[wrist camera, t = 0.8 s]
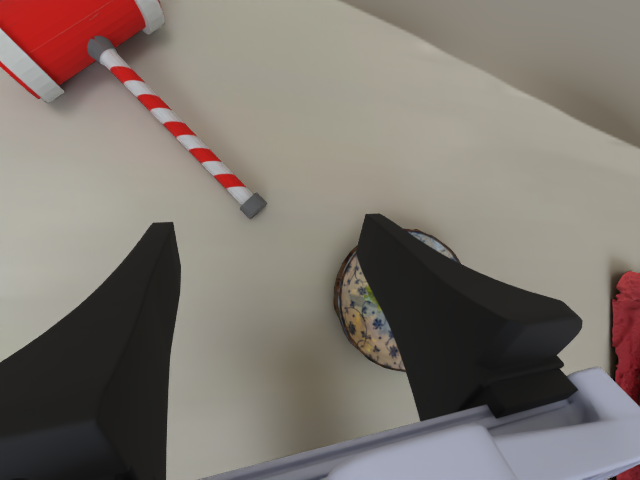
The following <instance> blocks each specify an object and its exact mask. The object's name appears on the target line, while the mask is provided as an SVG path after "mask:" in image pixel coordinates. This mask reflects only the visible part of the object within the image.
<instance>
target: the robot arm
mask: <svg viewBox="0 0 640 480" xmlns="http://www.w3.org/2000/svg"><path fill="white" fill-rule="evenodd" d="M356 255H357V259H358V262H359V265H360V267H361V270H362V273H363V275H364V277H365V279H366V281H367V283H368V285H369V287H370V289H371V291H372V293H373V295H374V297H375V299H376V300H377V302H378V304H379V306H380V308H381V310H382V312H383V314H384V316H385V318H386V320H387V322H388V324H389V327H390V329H391V332H392V334H393V337H394V340H395V342H396V345H397V347H398V350H399V353H400V356H401V359H402V362H403V364H404V367H405V370H406V373H407V377H408V380H409V383H410V386H411V389H412V393H413V396H414V400H415V403H416V407H417V410H418V414H419V418H420V421H421V422H417V423H413V424H410V425H406V426H402V427H398V428H394V429H390V430H387V431H383V432H379V433H375V434H371V435H367V436H363V437H360V438H356V439H352V440H348V441H344V442H340V443H337V444H333V445H329V446H325V447H321V448H317V449H314V450H310V451H306V452H302V453H298V454H294V455H290V456H287V457H283V458H279V459H275V460H271V461H267V462H264V463H260V464H256V465H252V466H248V467H244V468H241V469H237V470H233V471H229V472H225V473H221V474H217V475H214V476H210V477H206V478H202V479H198V480H606V479H608V478H611V477H613V476H616V475H618V474H620V473H622V472H624V471H626V470H628V469H630V468H632V467H634V466H636V465H638V464H640V407H639V406H638V405H637V404H636V403H635V402H634V401H633V400H632V399H631V398H630V397H629V396H628V395H627V393H626V392H625V391H624V390H623V389H622V388H621V387H620V386H619V385H618V384H617V383H616V382H615V381H614V380H613V379H612V378H611V377H610V376H609V375H608V374H607V373H606V372H605V371H604V370H603V369H602V368H601V367H593V368H589V369H585V370H581V371H577V372H574V373H572V374H570V375H568V376H566V375H565V374H564V373H563V372H562V371H561V370H560V369H559V368H562V367H563V366H564V363H563V362H562V361H561V360H560V359H559V357H558V356H557V354H558V353H559V352H560V351H562V350H563V349H564V348H565V347H566V346H567V345H568V344H569V343H570V342H571V341H572V340H573V339H574V338H575V337H576V336H577V334H578V333H579V332H580V330H581V328H582V319H581V318H580V317H579V316H578V315H577V314H576V313H575V312H574V311H573V310H571V309H570V308H569V307H568V306H567V305H566V304H565V303H564V302H562V301H560V300H557V299H553V298H550V297H546V296H543V295H539V294H536V293H532V292H529V291H526V290H523V289H520V288H517V287H514V286H511V285H508V284H506V283H503V282H500V281H498V280H495V279H493V278H490V277H488V276H486V275H483V274H481V273H479V272H476V271H474V270H472V269H470V268H468V267H466V266H464V265H462V264H460V263H458V262H456V261H454V260H452V259H450V258H448V257H447V256H445V255H443V254H441V253H440V252H438V251H436V250H435V249H433V248H431V247H430V246H428V245H427V244H425V243H424V242H422V241H420V240H419V239H417V238H416V237H414V236H413V235H411V234H410V233H409V232H407V231H406V230H404V229H403V228H401V227H400V226H398V225H397V224H395V223H394V222H392V221H391V220H389V219H388V218H386V217H385V216H383V215H381V214H366V215H365V219H364V223H363V226H362V230H361V234H360V238H359V241H358V245H357V249H356ZM180 282H181V264H180V259H179V253H178V247H177V242H176V236H175V231H174V225H173V222H162V223H153V224H152V225H151V226H150V227H149V228H148V230H147V231H146V232H145V234H144V235H143V237H142V238H141V239H140V241H139V242H138V243H137V244H136V246H135V247H134V248H133V250H132V251H131V252H130V253H129V254H128V256H127V257H126V258H125V259H124V260H123V262H122V263H121V264H120V265H119V266H118V267H117V268H116V270H115V271H114V272H113V273H112V274H111V275H110V276H109V277H108V278H107V279H106V280H105V281H104V282H103V283H102V284H101V285H100V286H99V287H98V288H97V289H96V290H95V291H94V292H93V293H92V294H91V295H90V296H89V297H88V298H87V299H86V300H85V301H83V302H82V303H81V304H80V305H79V306H78V307H77V308H75V309H74V310H73V311H72V312H71V313H69V314H68V315H67V316H65V317H64V318H63V319H62V320H60V321H59V322H58V323H56V324H55V325H54V326H52V327H51V328H50V329H49V330H47V331H46V332H45V333H43V334H42V335H41V336H39V337H38V338H36V339H35V340H33V341H32V342H30V343H29V344H28V345H26V346H25V347H23V348H22V349H20V350H19V351H17V352H16V353H14V354H13V355H11V356H10V357H8V358H7V359H5V360H3V361H2V362H0V480H166V444H167V410H168V385H169V366H170V354H171V346H172V340H173V333H174V327H175V321H176V315H177V309H178V302H179V296H180Z"/></svg>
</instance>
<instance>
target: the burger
mask: <svg viewBox="0 0 640 480" xmlns="http://www.w3.org/2000/svg"><path fill="white" fill-rule="evenodd" d="M404 230H406V231H407V232H409V233H410V234H411V235H413V236H414V237H416V238H417V239H419V240H420V241H422V242H424V243H425V244H427V245H428V246H430V247H431V248H433V249H435V250H436V251H438V252H440V253H441V254H443V255H445V256H447V257H448V258H450V259H452V260H454V261H456V262H458V263H460V261H459V259H458V258H457V256H456V255H455V254H454V252H453V251H452V250H451V249H450V248H449V247H447V246H446V245H445V244H443V243H442V242H441V241H439V240H438V239H437V238H435V237H434V236H432V235H429V234H426V233H424V232H422V231H419V230H417V229H415V230H410V229H404ZM356 249H357V246H356V247H355V248H354V249H353V250H352V251H351V252H350V253H349V255H348V256H347V257H346V259H345V260H344V262H343V263H342V266H341V268H340V270H339V272H338V274H337V278H336V283H335V287H334V308H335V311H336V313H337V315H338V317H339V320H340V322H341V325H342V327H343V330H344V333H345V335H346V336H347V338H348V340H349V341H350V343H351V344H352V345H353V346H355V347H356V348H357V349H358V350H359V351H360V352H362V354H363V355H364V356H365V357H366V358H367V359H369V360H370V361H372V362H374V363H375V364H377V365H380V366H382V367H384V368H387V369H391V370H396V371H401V372H406V370H405V367H404V364H403V362H402V359H401V356H400V353H399V350H398V347H397V345H396V342H395V340H394V337H393V334H392V332H391V329H390V327H389V324H388V322H387V320H386V318H385V316H384V314H383V312H382V310H381V308H380V306H379V304H378V302H377V300H376V299H375V297H374V295H373V293H372V291H371V289H370V287H369V285H368V283H367V281H366V279H365V277H364V275H363V273H362V270H361V267H360V265H359V262H358V259H357V255H356ZM460 264H461V263H460Z"/></svg>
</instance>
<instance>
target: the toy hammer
mask: <svg viewBox="0 0 640 480" xmlns="http://www.w3.org/2000/svg"><path fill="white" fill-rule="evenodd" d="M164 23H165V19H164V14H163V12H162V8H161V5H160V2H159V0H0V67H1V68H2V69H4V70H5V71H6V72H7V73H8V74H9V75H10V76H11V77H13V78H14V79H15V80H16V81H17V82H18V83H19V84H21V85H22V86H23V87H24V88H25V89H26V90H28V91H29V92H30V93H31V94H32V95H34V96H35V97H36V98H38V99H40V98H42V99H44V100H45V101H46V102H48V103H50V102H51V101H52V100H54V99H55V98H57V97H58V96H60V95H61V94H63V93H64V91H63V90H62V89H61V88H60V87H59V85H61V84H62V83H64V82H65V81H67V80H68V79H69V78H71V77H72V76H74V75H75V74H77V73H78V72H80V71H81V70H83V69H84V68H86V67H87V66H89V65H90V64H92V63H93V62H95V61H98V62H99V63H100V64H102V65H104V66H106V67H107V68H108V69H109V70H110V71H111V72H112V73H113V74H114V75H115V76H116V77H117V78H118V79H119V80H120V81H121V82H122V83H123V84H124V85H125V86H126V87H127V88H128V89H129V90H130V91H131V92H132V94H133V95H134V96H135V97H136V98H137V99H138V100H139V101H140V102H141V103H142V104H143V105H144V106H145V107H146V108H147V109H148V110H149V111H150V112H151V113H152V114H153V115H154V116H155V117H156V118H157V119H158V120H159V121H160V122H161V123H162V124H163V125H164V126H165V127H166V128H167V129H168V130H169V131H170V132H171V133H172V134H173V135H174V136H175V137H176V138H177V139H178V140H179V142H180V143H181V144H182V145H183V146H184V147H185V148H186V149H187V150H188V151H189V152H190V153H191V154H192V155H193V156H194V157H195V158H196V159H197V160H198V161H199V162H200V163H201V164H202V165H203V166H204V167H205V168H206V169H207V170H208V171H209V172H210V173H211V174H212V175H213V176H214V177H215V178H216V179H217V180H218V181H219V182H220V183H221V184H222V185H223V186H224V187H225V188H226V190H227V191H228V192H229V193H230V194H231V195H232V196H233V197H234V198H235V199H236V200H237V201H238V202H239V203H240V204H241V205H242V206H241V207H240V209H241V210H242V211H243V212H244V214H245V215H246V216H247V217H248V218H249V219H251V218H252V217H254V216H255V215H256V214H257V213H258V212H259V211H260V210H261V209H262V208H263V207H264V206H265V205H266V204H267V203H266V201H265V200H264V199H263V198H262V197H261V196H260V195H259V194H258V193H255V194H253V193H252V192H251V191H250V190H249V189H248V188H247V187H246V186H245V185H244V184H243V183H242V182H241V181H240V180H239V179H238V178H237V177H236V176H235V175H234V174H233V173H232V172H231V171H230V170H229V169H228V168H227V167H226V166H225V165H224V164H223V163H222V162H221V160H220V159H219V158H218V157H217V156H216V155H215V154H214V153H213V152H212V151H211V150H210V149H209V148H208V147H207V146H206V145H205V144H204V143H203V142H202V141H201V140H200V139H199V138H198V137H197V136H196V135H195V134H194V133H193V132H192V131H191V130H190V128H189V127H188V126H187V125H186V124H185V123H184V122H183V121H182V120H181V119H180V118H179V117H178V116H177V115H176V114H175V113H174V112H173V111H172V110H171V109H170V108H169V107H168V106H167V105H166V104H165V103H164V102H163V101H162V100H161V99H160V97H159V96H158V95H157V94H156V93H155V92H154V91H153V90H152V89H151V88H150V87H149V86H148V85H147V84H146V83H145V82H144V81H143V80H142V79H141V78H140V77H139V76H138V75H137V74H136V73H135V72H134V71H133V70H132V69H131V67H130V66H129V65H128V64H127V63H126V62H125V61H124V60H123V59H122V58H121V57H120V56H119V55H118V52H117V50H116V49H115V48H116V47H117V46H119V45H120V44H121V43H123V42H124V41H126V40H127V39H129V38H130V37H132V36H133V35H135V34H136V33H138V32H139V31H143V32H144V33H146V34H151V33H152V32H154V31H155V30H157V29H158V28H160V27H161V26H163V25H164Z"/></svg>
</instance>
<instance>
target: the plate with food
mask: <svg viewBox="0 0 640 480" xmlns="http://www.w3.org/2000/svg"><path fill="white" fill-rule="evenodd" d="M616 288H617V289H618V290H619V291H620V294H617V295H616V298H617V299H612V301H613V303H612V306H613V328H612V334H613V337H612V341H613V344H612V347H615V348H616V349H615V350H616V351H615V353H616V354H617V356H618V359H619V360H618V364H617V365H616V367H617V370H616V372H615V373H616V374H615V376H616V377H615V382H616V383H617V384H618V385H619V386H620V387H621V388H622V389H623V390H624V391H625V392H626V393H627V395H628V396H629V397H630V398H631V399H632V400H633V401H634V402H635V403H636V404H637V405H638V406H639V407H640V273H635V272H632V271H629V272H626V273H625V274H624V275H623V276H622V277H621V279H620V281H619V282H618V284H616ZM616 478H617V479H616V480H640V464H638V465H636V466H634V467H632V468H630V469H628V470H626V471H624V472H622V473H620V474H618V475H616Z"/></svg>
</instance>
